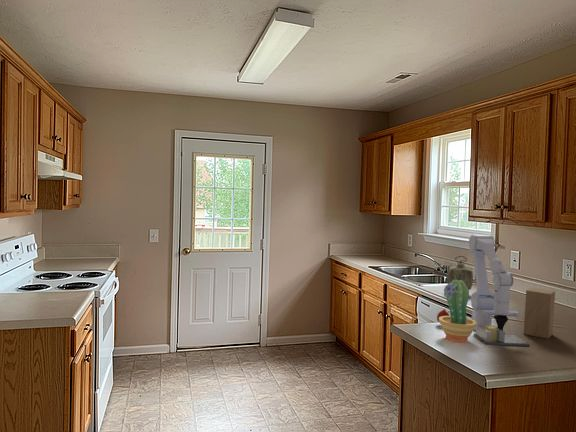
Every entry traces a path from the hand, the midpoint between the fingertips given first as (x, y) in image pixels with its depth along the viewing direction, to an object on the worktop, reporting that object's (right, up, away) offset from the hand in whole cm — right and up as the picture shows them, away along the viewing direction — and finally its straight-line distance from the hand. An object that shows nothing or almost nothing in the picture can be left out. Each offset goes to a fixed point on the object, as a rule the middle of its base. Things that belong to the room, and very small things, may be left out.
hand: (499, 332), depth 192 cm
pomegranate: (-17, -2, +21) cm, 27 cm away
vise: (0, -3, 0) cm, 3 cm away
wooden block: (+23, -4, +13) cm, 27 cm away
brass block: (-4, -2, 0) cm, 5 cm away
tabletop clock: (+20, -1, +97) cm, 99 cm away
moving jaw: (-2, -2, 0) cm, 3 cm away
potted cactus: (-18, -3, 0) cm, 19 cm away
